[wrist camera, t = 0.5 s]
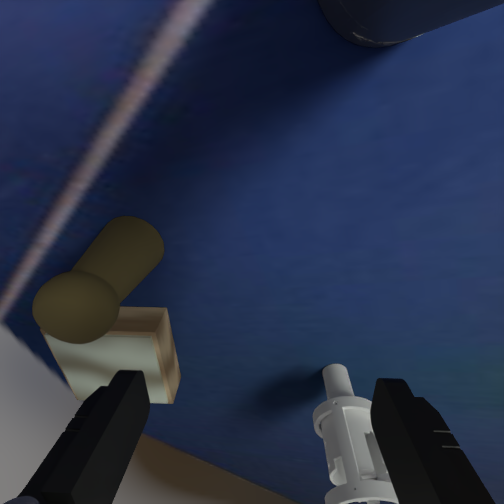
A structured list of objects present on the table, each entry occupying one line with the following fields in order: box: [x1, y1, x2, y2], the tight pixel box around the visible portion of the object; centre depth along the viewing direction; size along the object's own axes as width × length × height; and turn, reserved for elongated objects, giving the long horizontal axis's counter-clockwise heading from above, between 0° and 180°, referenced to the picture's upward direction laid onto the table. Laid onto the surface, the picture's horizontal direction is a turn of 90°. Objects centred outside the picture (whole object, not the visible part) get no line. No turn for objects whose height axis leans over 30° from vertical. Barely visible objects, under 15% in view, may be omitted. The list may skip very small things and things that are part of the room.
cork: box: [32, 216, 164, 344], centre depth 22 cm, size 6×6×11 cm
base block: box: [40, 307, 181, 404], centre depth 33 cm, size 12×12×4 cm
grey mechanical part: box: [313, 364, 399, 504], centre depth 29 cm, size 7×7×15 cm
